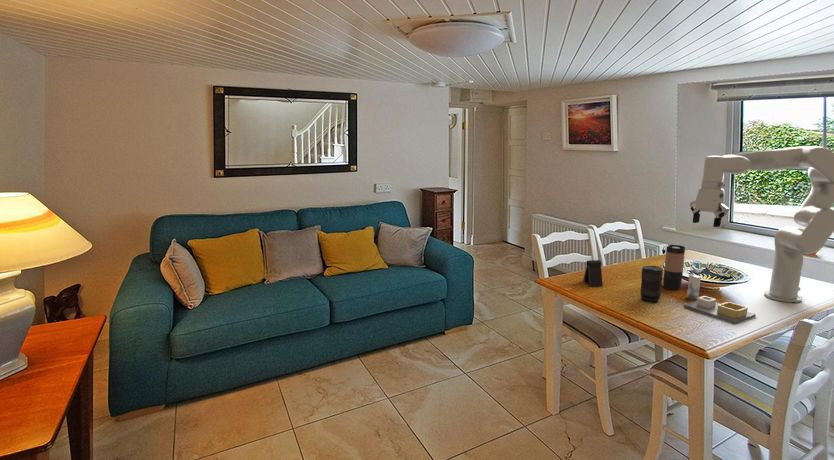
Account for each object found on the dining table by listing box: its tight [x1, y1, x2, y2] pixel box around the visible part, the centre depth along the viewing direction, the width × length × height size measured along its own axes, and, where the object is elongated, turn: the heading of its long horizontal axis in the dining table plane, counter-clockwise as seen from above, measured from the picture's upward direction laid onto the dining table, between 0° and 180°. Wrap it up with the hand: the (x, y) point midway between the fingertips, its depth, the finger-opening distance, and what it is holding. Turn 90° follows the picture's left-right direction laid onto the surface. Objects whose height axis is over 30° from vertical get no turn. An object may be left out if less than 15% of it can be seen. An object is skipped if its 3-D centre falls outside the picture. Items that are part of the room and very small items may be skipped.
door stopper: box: [582, 259, 604, 288], centre depth 214 cm, size 9×6×12 cm, turn 3°
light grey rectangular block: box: [686, 274, 701, 300], centre depth 193 cm, size 4×4×10 cm
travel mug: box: [662, 244, 686, 291], centre depth 206 cm, size 8×8×20 cm
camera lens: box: [640, 265, 664, 304], centre depth 191 cm, size 8×8×15 cm
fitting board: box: [683, 295, 757, 325], centre depth 178 cm, size 14×20×4 cm
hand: (705, 224), depth 189 cm, fingers open, 9 cm apart
